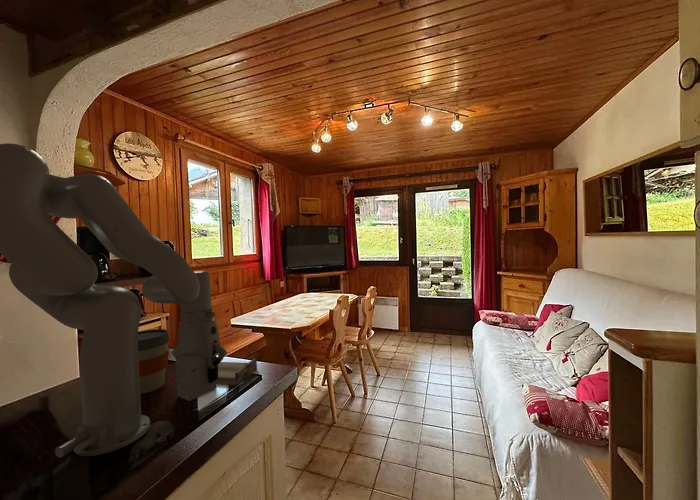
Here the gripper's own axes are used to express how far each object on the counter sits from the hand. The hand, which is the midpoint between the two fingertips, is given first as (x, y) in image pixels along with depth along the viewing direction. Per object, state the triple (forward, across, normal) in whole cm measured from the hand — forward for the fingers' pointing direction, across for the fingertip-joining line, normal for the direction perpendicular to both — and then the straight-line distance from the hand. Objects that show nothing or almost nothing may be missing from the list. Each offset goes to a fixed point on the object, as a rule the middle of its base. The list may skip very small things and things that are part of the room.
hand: (200, 380), depth 82 cm
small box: (+3, 0, +1) cm, 3 cm away
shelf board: (+3, 0, -10) cm, 10 cm away
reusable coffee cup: (+3, +18, -1) cm, 18 cm away
